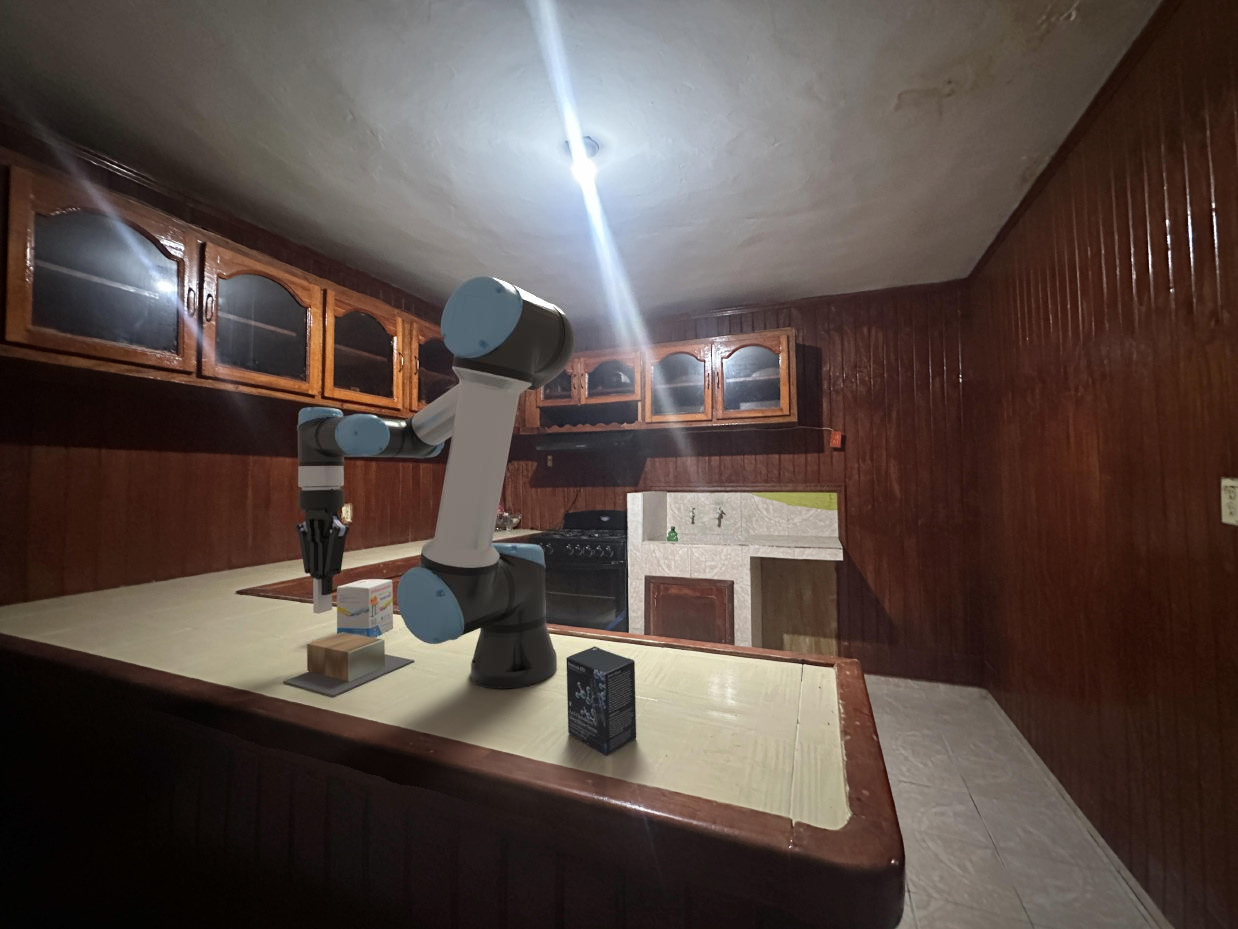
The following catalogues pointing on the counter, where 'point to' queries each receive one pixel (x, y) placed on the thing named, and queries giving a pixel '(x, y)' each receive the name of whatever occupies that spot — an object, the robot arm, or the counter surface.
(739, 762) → the counter surface
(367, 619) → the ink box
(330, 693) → the mat
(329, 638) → the block
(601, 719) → the box
